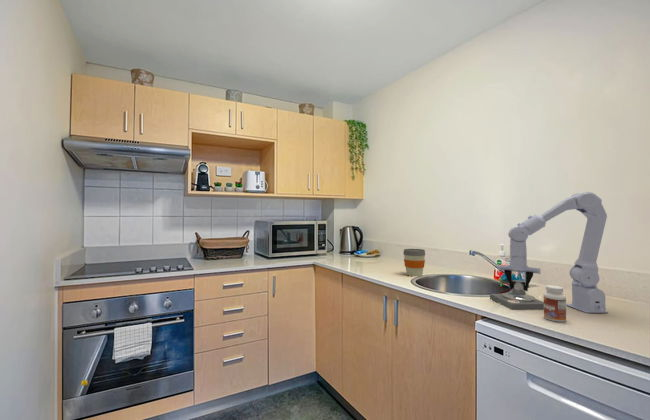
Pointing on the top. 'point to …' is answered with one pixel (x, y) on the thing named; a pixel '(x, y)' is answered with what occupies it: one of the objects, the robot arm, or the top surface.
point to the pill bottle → (554, 304)
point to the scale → (517, 301)
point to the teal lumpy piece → (505, 281)
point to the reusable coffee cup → (414, 261)
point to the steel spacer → (518, 287)
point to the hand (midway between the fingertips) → (518, 289)
